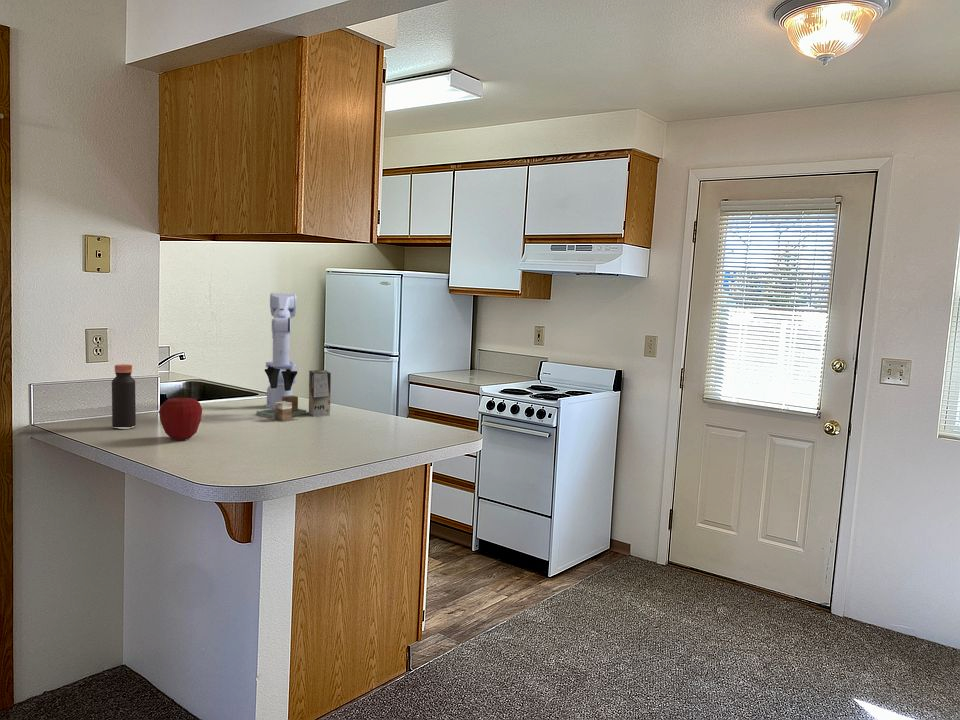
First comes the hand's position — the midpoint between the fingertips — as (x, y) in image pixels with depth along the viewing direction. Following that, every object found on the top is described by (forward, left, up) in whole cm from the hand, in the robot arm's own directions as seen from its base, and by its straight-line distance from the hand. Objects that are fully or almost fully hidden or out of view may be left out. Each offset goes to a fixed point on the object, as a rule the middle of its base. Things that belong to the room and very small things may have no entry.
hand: (280, 389), depth 261 cm
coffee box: (+7, +12, -10) cm, 17 cm away
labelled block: (+7, -5, -9) cm, 13 cm away
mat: (+7, -4, -10) cm, 13 cm away
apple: (+10, -45, -10) cm, 47 cm away
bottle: (-17, -48, -10) cm, 52 cm away
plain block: (-2, +6, -9) cm, 11 cm away
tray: (-2, +2, -10) cm, 10 cm away
